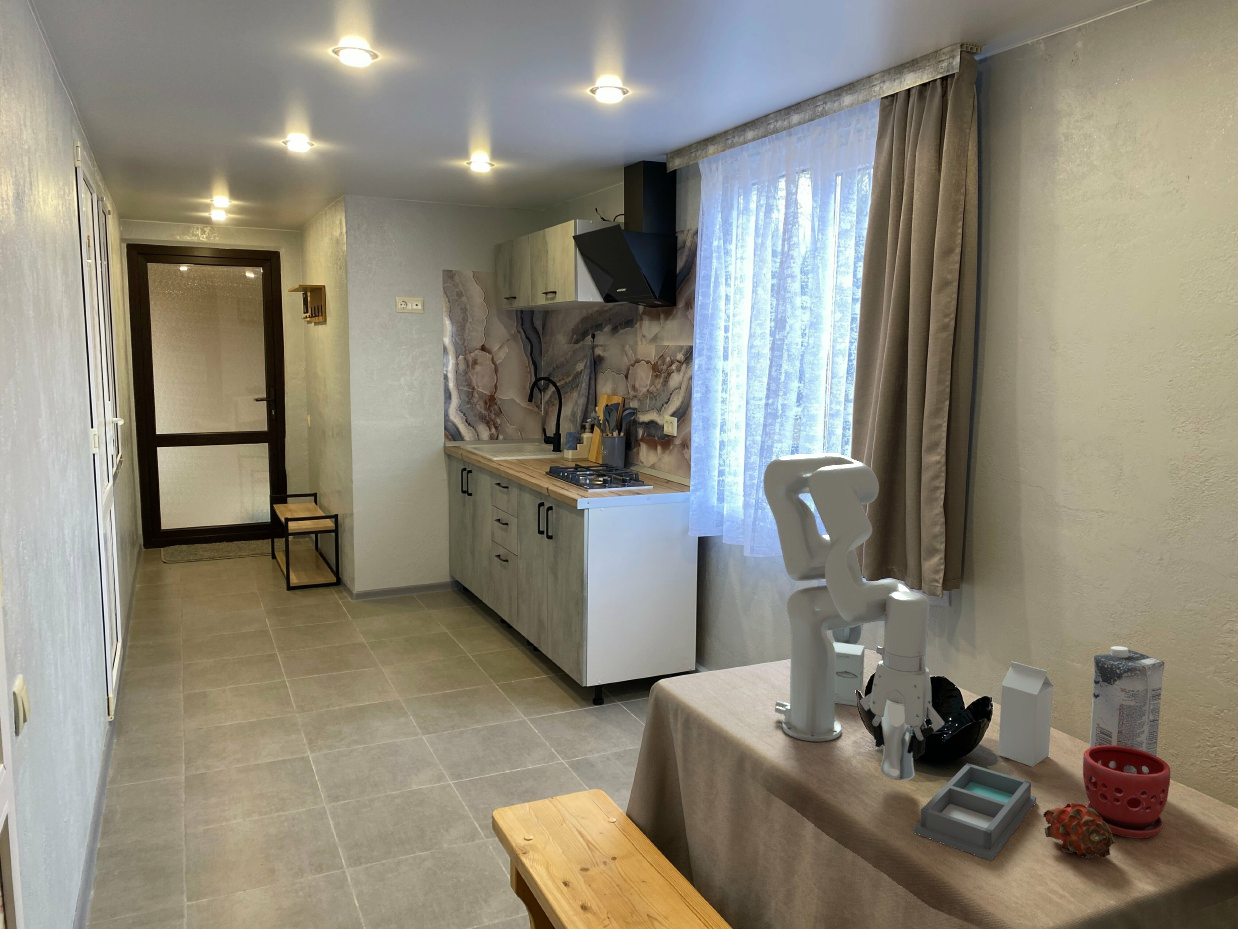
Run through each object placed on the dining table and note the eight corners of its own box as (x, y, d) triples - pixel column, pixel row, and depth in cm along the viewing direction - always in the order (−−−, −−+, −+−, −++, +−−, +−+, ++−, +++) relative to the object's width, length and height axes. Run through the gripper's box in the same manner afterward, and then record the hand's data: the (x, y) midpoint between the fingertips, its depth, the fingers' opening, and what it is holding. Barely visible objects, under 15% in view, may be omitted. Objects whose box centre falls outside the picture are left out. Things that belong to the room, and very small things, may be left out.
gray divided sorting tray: (913, 833, 154) (914, 810, 153) (964, 781, 172) (965, 760, 171) (991, 861, 146) (992, 837, 145) (1036, 803, 164) (1037, 781, 163)
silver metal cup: (918, 783, 164) (923, 706, 162) (879, 779, 166) (883, 703, 163) (914, 765, 171) (919, 690, 168) (876, 761, 172) (880, 687, 170)
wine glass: (830, 680, 223) (831, 622, 221) (828, 668, 231) (829, 612, 229) (863, 682, 222) (864, 623, 220) (860, 670, 230) (861, 613, 228)
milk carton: (1033, 767, 177) (1038, 675, 174) (997, 755, 182) (1002, 665, 180) (1048, 756, 182) (1054, 666, 179) (1014, 745, 187) (1019, 657, 184)
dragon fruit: (1110, 882, 142) (1045, 855, 153) (1136, 840, 145) (1070, 816, 156) (1085, 847, 140) (1021, 821, 151) (1112, 805, 143) (1047, 783, 154)
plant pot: (1180, 829, 154) (1186, 763, 153) (1139, 853, 148) (1144, 784, 146) (1105, 797, 165) (1110, 735, 164) (1064, 818, 158) (1068, 753, 157)
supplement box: (826, 703, 209) (828, 650, 208) (832, 691, 216) (833, 640, 214) (859, 707, 207) (861, 654, 205) (863, 696, 213) (865, 644, 212)
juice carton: (1161, 795, 166) (1172, 654, 162) (1120, 806, 162) (1131, 662, 158) (1118, 774, 174) (1127, 639, 171) (1078, 784, 170) (1087, 647, 167)
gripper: (851, 653, 167) (846, 743, 170) (943, 678, 156) (936, 773, 159) (868, 642, 173) (864, 729, 176) (959, 665, 162) (952, 758, 165)
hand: (898, 749), depth 167 cm, fingers closed on silver metal cup, 6 cm apart
